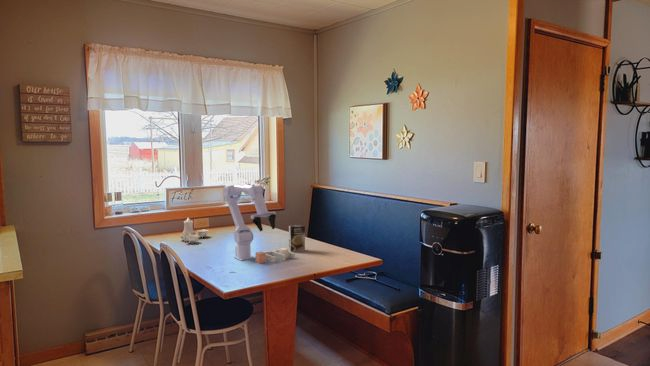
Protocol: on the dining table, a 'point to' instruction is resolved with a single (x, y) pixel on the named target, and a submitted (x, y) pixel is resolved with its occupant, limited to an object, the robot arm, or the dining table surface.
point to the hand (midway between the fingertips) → (267, 229)
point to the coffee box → (296, 238)
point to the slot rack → (278, 256)
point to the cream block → (284, 252)
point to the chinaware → (192, 232)
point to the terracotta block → (260, 257)
